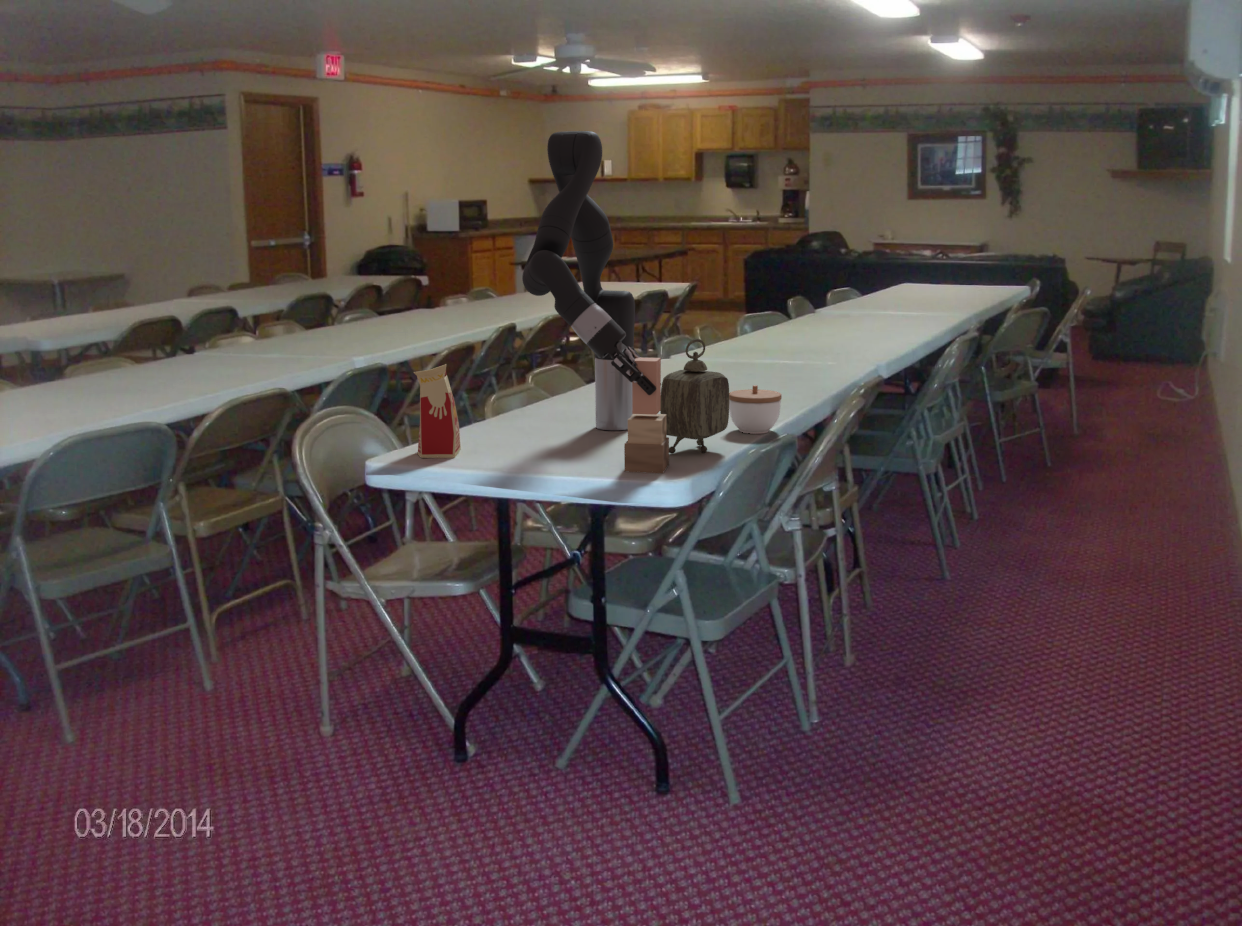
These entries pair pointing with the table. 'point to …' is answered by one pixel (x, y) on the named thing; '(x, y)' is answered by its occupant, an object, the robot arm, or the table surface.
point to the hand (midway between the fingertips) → (655, 389)
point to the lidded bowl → (754, 409)
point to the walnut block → (647, 457)
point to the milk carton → (437, 416)
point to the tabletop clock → (695, 401)
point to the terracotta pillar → (640, 398)
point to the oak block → (647, 429)
